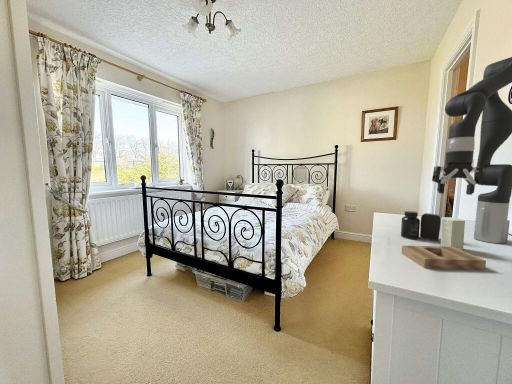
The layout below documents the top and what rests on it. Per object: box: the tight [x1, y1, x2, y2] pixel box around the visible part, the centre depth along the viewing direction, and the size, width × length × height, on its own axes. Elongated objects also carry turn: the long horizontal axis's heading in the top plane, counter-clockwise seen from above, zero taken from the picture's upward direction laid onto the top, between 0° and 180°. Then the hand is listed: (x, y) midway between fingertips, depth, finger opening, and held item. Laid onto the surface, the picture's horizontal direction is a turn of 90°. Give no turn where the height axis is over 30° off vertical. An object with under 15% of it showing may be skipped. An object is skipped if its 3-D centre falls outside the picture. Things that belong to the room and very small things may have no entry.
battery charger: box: [419, 212, 442, 241], centre depth 96 cm, size 7×4×11 cm, turn 46°
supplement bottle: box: [400, 210, 421, 240], centre depth 98 cm, size 7×7×12 cm
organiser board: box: [401, 245, 487, 271], centre depth 73 cm, size 18×12×3 cm, turn 86°
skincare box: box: [440, 216, 466, 251], centre depth 83 cm, size 6×4×12 cm
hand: (454, 194), depth 80 cm, fingers open, 8 cm apart
